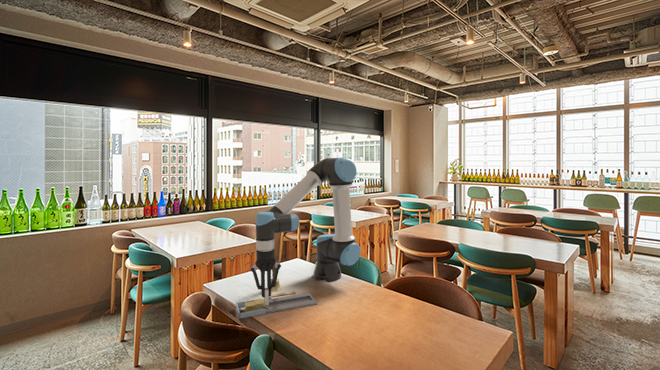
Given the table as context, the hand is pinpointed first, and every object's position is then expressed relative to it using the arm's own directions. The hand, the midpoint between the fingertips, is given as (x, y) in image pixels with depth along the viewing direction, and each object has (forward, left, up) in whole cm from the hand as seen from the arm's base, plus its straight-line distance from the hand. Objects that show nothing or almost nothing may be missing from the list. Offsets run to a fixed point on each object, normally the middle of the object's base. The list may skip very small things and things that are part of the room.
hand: (266, 303), depth 132 cm
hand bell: (-7, -19, -3) cm, 20 cm away
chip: (+7, 0, -2) cm, 7 cm away
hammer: (-9, -10, -3) cm, 14 cm away
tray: (+7, 0, -3) cm, 7 cm away
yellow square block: (+3, 0, -2) cm, 3 cm away
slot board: (-10, 0, -3) cm, 10 cm away
